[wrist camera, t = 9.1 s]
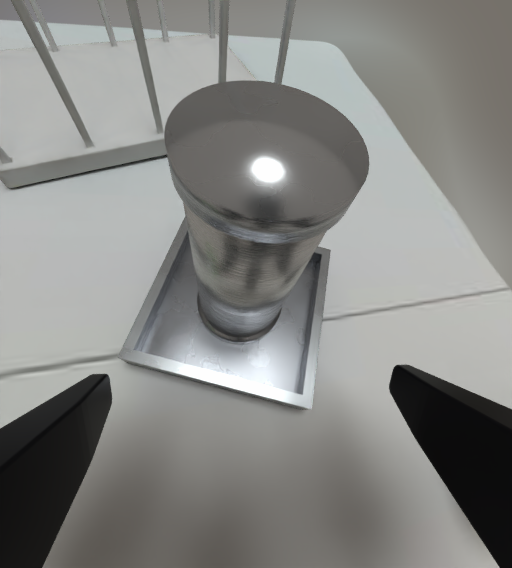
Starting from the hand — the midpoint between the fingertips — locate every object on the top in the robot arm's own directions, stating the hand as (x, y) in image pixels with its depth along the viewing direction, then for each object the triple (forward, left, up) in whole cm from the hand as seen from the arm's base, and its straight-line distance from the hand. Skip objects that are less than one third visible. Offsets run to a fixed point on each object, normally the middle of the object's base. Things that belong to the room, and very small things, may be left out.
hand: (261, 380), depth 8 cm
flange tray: (+6, +2, -9) cm, 10 cm away
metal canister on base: (+6, +2, -8) cm, 10 cm away
